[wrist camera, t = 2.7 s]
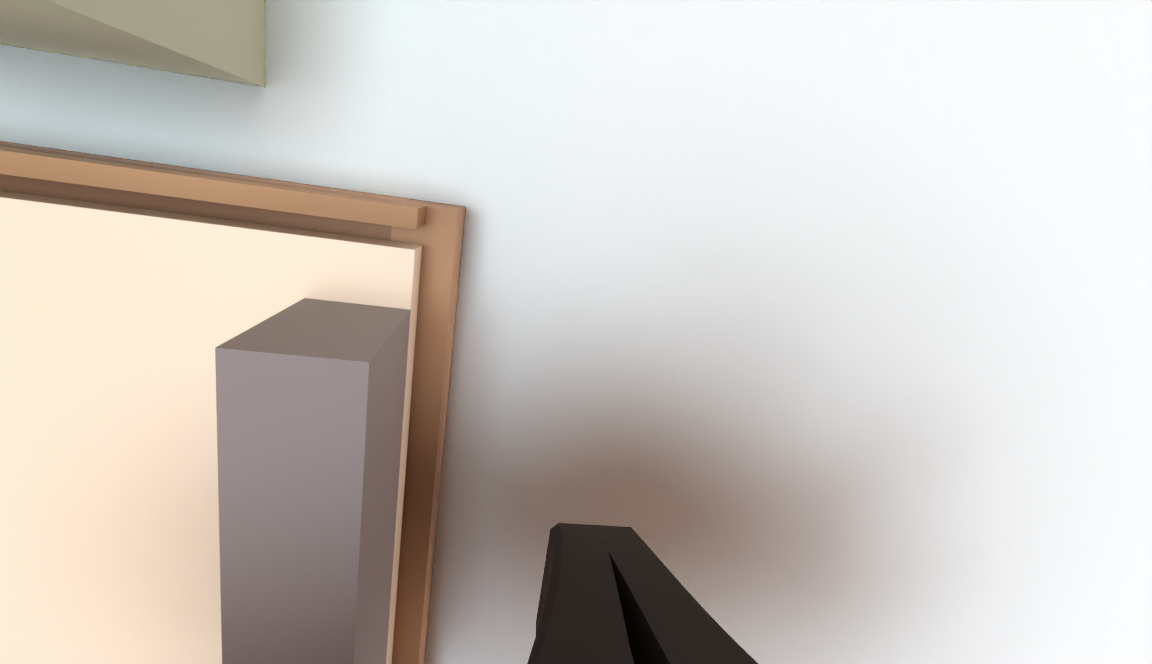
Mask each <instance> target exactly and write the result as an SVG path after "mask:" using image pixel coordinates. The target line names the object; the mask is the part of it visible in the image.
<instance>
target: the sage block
mask: <svg viewBox="0 0 1152 664" xmlns="http://www.w3.org/2000/svg"><path fill="white" fill-rule="evenodd" d="M0 44H3V45H10V46H16V47H22V48H28V49H34V50H40V51H46V52H53V53H59V54H65V55H71V56H77V57H83V58H89V59H96V60H102V61H108V62H114V63H120V64H126V65H132V66H139V67H145V68H151V69H157V70H163V71H169V72H175V73H182V74H188V75H194V76H200V77H206V78H212V79H218V80H225V81H231V82H237V83H243V84H249V85H255V86H261V87H265V0H0Z"/></svg>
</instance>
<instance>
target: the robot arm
mask: <svg viewBox="0 0 1152 664" xmlns="http://www.w3.org/2000/svg"><path fill="white" fill-rule="evenodd" d="M528 664H758V663H757V662H756V661H755V660H754V659H753V658H752V657H751V656H750V655H749V654H748V653H746V652H745V651H744V650H743V649H742V648H741V647H740V646H739V645H738V644H737V643H736V642H735V641H734V640H733V639H732V638H731V637H730V636H729V635H728V634H727V633H726V632H725V631H724V630H723V629H722V628H721V627H720V626H719V625H718V623H717V622H716V621H715V620H714V619H713V618H712V617H711V616H710V615H709V614H708V613H707V612H706V611H705V610H704V609H703V608H702V607H701V605H700V604H699V603H698V602H697V601H696V600H695V599H694V598H693V597H692V596H691V595H690V594H689V592H688V591H687V590H686V589H685V588H684V587H683V586H682V585H681V584H680V582H679V581H678V580H677V579H676V578H675V577H674V576H673V575H672V573H671V572H670V571H669V570H668V569H667V568H666V567H665V565H664V564H663V563H662V562H661V561H660V560H659V559H658V557H657V556H656V555H655V554H654V553H653V552H652V551H651V549H650V548H649V547H648V546H647V545H646V544H645V542H644V541H643V540H642V539H641V538H640V537H639V536H638V535H637V533H636V532H635V531H634V530H633V529H632V528H631V527H617V526H599V525H582V524H564V523H558V524H557V525H555V526H554V527H553V528H551V529H550V536H549V542H548V549H547V555H546V562H545V568H544V575H543V581H542V588H541V594H540V601H539V607H538V614H537V620H536V638H535V641H534V645H533V648H532V651H531V654H530V657H529V661H528Z"/></svg>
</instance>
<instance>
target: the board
mask: <svg viewBox="0 0 1152 664" xmlns="http://www.w3.org/2000/svg"><path fill="white" fill-rule="evenodd" d="M0 190H1V191H9V192H16V193H24V194H32V195H40V196H47V197H55V198H63V199H71V200H79V201H86V202H94V203H102V204H110V205H117V206H125V207H133V208H141V209H148V210H156V211H164V212H172V213H179V214H187V215H195V216H203V217H211V218H218V219H226V220H234V221H242V222H249V223H257V224H265V225H273V226H280V227H288V228H296V229H304V230H312V231H319V232H327V233H335V234H343V235H350V236H358V237H366V238H374V239H381V240H389V241H397V242H405V243H413V244H420V245H422V255H421V269H420V282H419V296H418V310H417V323H416V337H415V351H414V365H413V378H412V392H411V406H410V419H409V433H408V447H407V460H406V474H405V488H404V501H403V515H402V529H401V543H400V556H399V570H398V584H397V597H396V611H395V625H394V638H393V652H392V664H424V658H425V647H426V636H427V625H428V614H429V603H430V592H431V581H432V570H433V559H434V548H435V537H436V526H437V515H438V504H439V493H440V482H441V471H442V460H443V449H444V438H445V427H446V416H447V405H448V394H449V384H450V373H451V362H452V351H453V340H454V329H455V318H456V307H457V296H458V285H459V274H460V263H461V252H462V241H463V230H464V219H465V208H466V207H464V206H457V205H450V204H443V203H435V202H428V201H421V200H414V199H407V198H400V197H393V196H386V195H379V194H371V193H364V192H357V191H350V190H343V189H336V188H329V187H322V186H315V185H308V184H300V183H293V182H286V181H279V180H272V179H265V178H258V177H251V176H244V175H237V174H229V173H222V172H215V171H208V170H201V169H194V168H187V167H180V166H173V165H165V164H158V163H151V162H144V161H137V160H130V159H123V158H116V157H109V156H102V155H94V154H87V153H80V152H73V151H66V150H59V149H52V148H45V147H38V146H31V145H23V144H16V143H9V142H2V141H0Z"/></svg>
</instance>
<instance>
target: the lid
mask: <svg viewBox="0 0 1152 664" xmlns="http://www.w3.org/2000/svg"><path fill="white" fill-rule="evenodd" d="M421 255H422V245H420V244H413V243H405V242H397V241H389V240H381V239H374V238H366V237H358V236H350V235H343V234H335V233H327V232H319V231H312V230H304V229H296V228H288V227H280V226H273V225H265V224H257V223H249V222H242V221H234V220H226V219H218V218H211V217H203V216H195V215H187V214H179V213H172V212H164V211H156V210H148V209H141V208H133V207H125V206H117V205H110V204H102V203H94V202H86V201H79V200H71V199H63V198H55V197H47V196H40V195H32V194H24V193H16V192H9V191H1V190H0V664H392V652H393V638H394V625H395V611H396V597H397V584H398V570H399V556H400V543H401V529H402V515H403V501H404V488H405V474H406V460H407V447H408V433H409V419H410V406H411V392H412V378H413V365H414V351H415V337H416V323H417V310H418V296H419V282H420V269H421Z"/></svg>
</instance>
